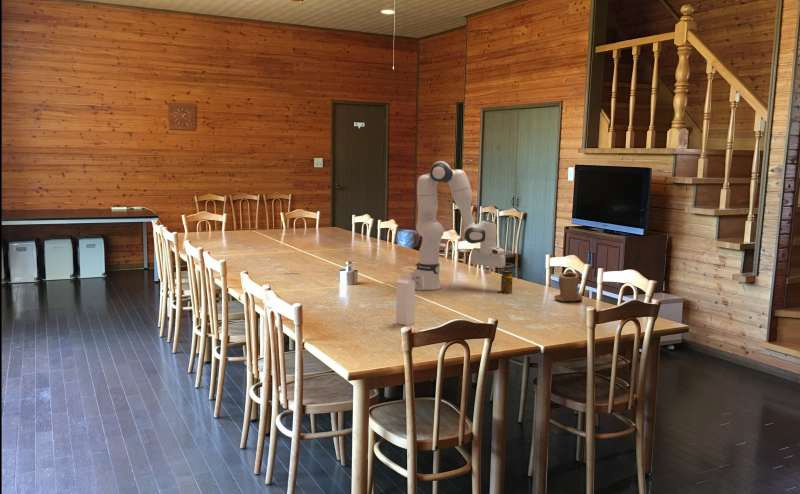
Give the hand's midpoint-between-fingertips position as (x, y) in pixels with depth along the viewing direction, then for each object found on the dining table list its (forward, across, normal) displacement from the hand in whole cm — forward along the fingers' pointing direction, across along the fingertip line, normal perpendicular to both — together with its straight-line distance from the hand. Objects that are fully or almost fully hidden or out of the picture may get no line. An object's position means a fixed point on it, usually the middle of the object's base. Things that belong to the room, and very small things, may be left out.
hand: (487, 273), depth 368 cm
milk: (+9, +6, -88) cm, 89 cm away
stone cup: (+10, +47, +3) cm, 48 cm away
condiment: (+10, +11, 0) cm, 15 cm away
